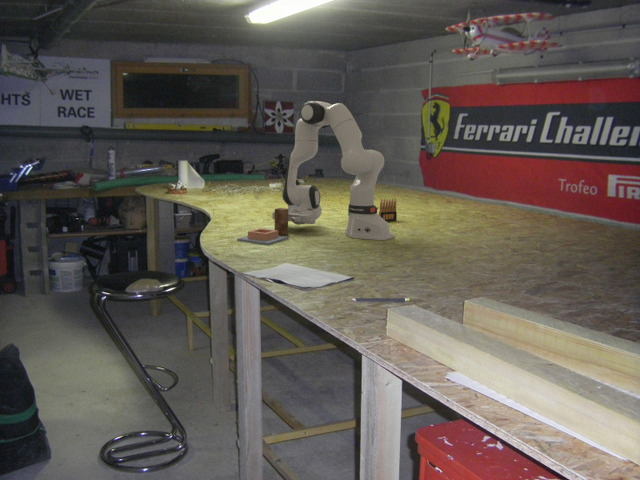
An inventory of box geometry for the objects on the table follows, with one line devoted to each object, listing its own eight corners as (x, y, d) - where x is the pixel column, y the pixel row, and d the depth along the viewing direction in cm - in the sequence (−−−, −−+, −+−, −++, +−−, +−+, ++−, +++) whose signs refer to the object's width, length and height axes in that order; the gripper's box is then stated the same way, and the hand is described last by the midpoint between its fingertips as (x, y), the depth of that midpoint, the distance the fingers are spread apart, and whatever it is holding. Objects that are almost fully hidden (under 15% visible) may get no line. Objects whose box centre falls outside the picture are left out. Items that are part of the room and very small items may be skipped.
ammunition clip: (394, 220, 335) (395, 198, 333) (396, 220, 333) (397, 198, 331) (378, 221, 330) (379, 198, 327) (380, 222, 328) (381, 199, 326)
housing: (288, 239, 276) (288, 230, 275) (268, 245, 262) (268, 235, 261) (258, 235, 283) (258, 226, 283) (237, 240, 269) (237, 231, 269)
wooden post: (288, 234, 287) (288, 208, 284) (282, 236, 283) (283, 209, 280) (279, 233, 289) (280, 207, 286) (274, 235, 285) (274, 208, 283)
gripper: (281, 206, 303) (265, 210, 291) (318, 210, 293) (303, 214, 281) (281, 219, 304) (265, 223, 292) (318, 223, 295) (303, 227, 283)
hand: (284, 218), depth 287 cm, fingers open, 8 cm apart
